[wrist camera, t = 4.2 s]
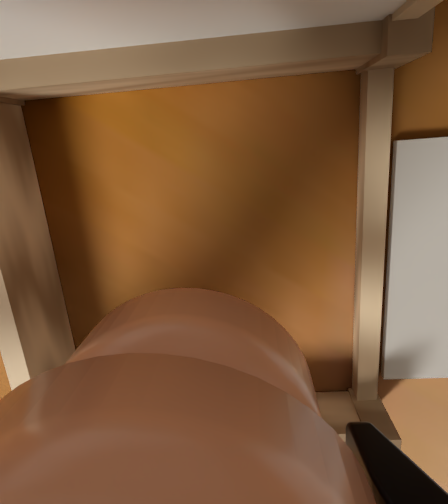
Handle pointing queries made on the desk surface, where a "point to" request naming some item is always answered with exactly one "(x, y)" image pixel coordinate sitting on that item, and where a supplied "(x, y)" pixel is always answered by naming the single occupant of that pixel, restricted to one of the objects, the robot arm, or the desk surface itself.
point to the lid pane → (173, 20)
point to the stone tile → (417, 262)
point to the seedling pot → (176, 414)
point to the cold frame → (191, 73)
